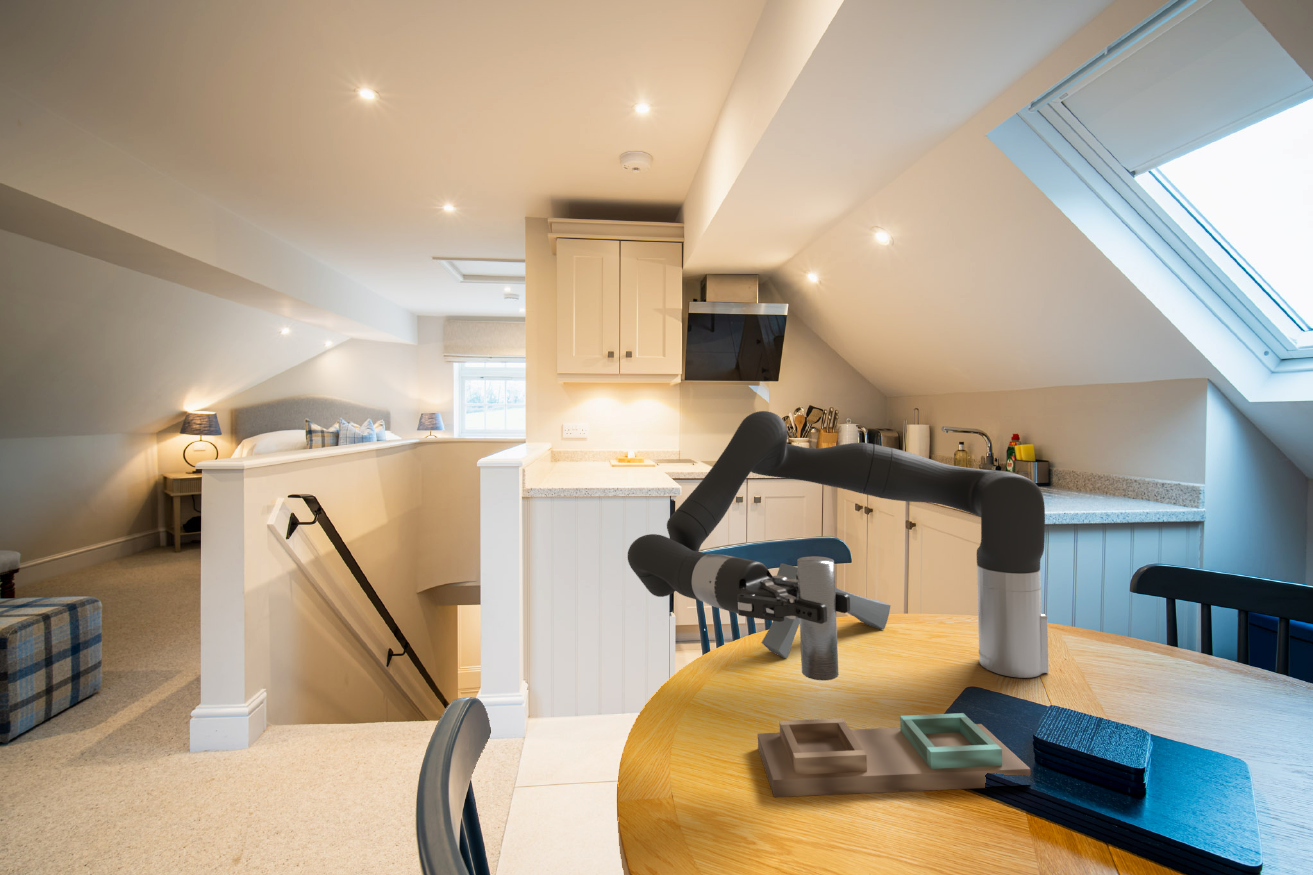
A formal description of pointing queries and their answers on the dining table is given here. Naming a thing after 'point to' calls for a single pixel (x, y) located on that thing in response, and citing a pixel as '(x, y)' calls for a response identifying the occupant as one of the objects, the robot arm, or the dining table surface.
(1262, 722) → the dining table surface
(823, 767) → the brown insertion board
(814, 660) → the peg
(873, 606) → the grey bent piece
